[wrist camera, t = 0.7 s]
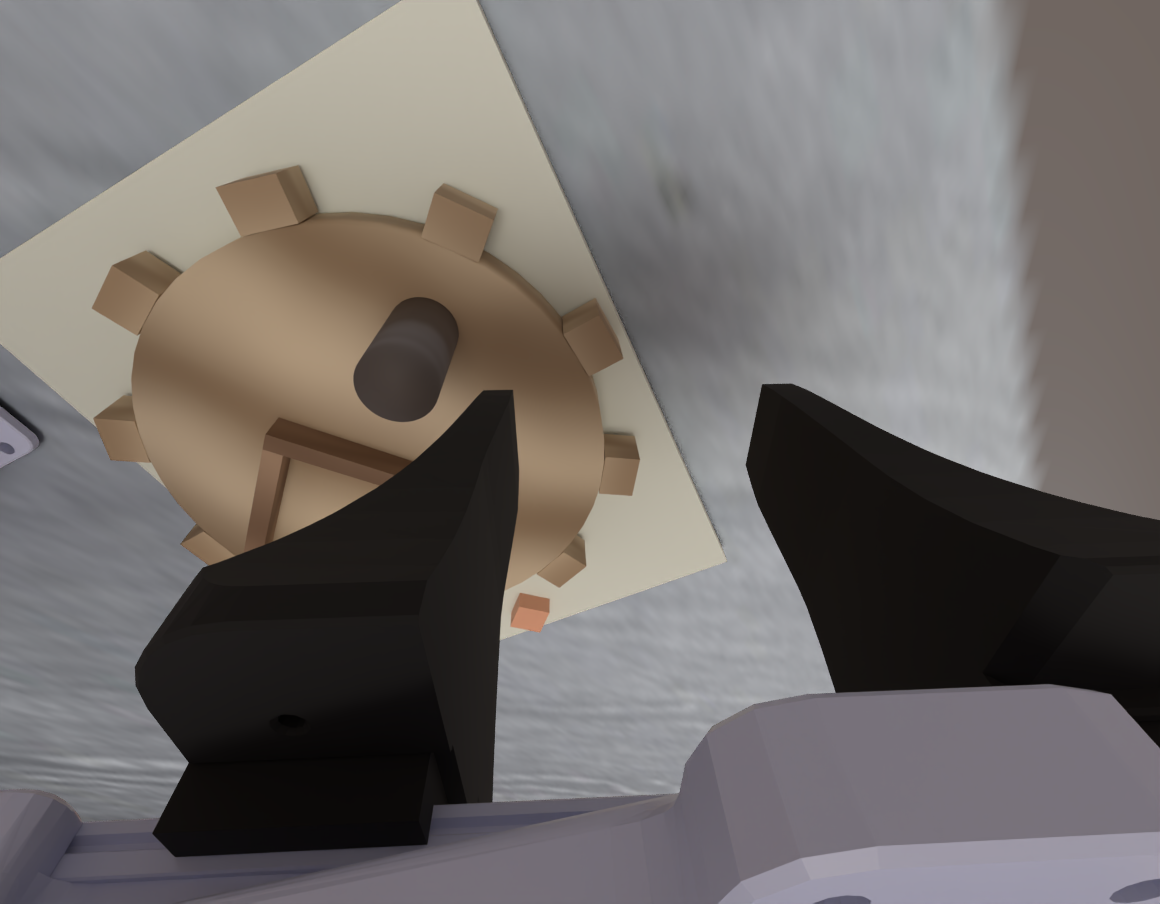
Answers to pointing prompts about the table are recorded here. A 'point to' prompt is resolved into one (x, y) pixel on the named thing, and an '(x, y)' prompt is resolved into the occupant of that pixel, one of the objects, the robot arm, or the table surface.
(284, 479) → the sprocket disc
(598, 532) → the index plate
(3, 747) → the table surface
